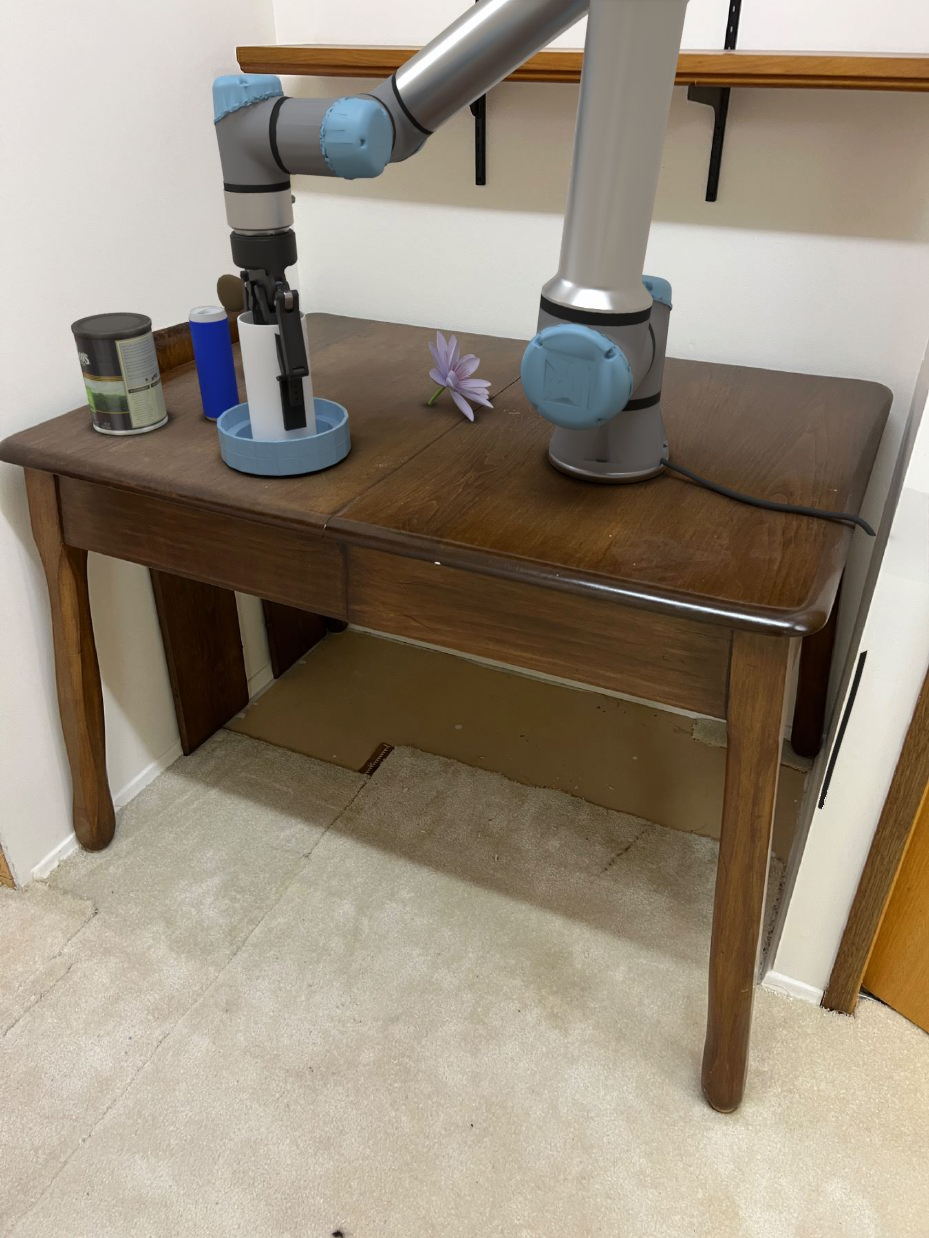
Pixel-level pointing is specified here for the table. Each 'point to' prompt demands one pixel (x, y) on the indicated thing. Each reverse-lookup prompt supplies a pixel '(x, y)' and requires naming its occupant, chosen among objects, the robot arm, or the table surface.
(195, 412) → the table surface
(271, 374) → the cup
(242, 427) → the bowl
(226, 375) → the beverage can
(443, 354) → the water lily
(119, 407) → the coffee can
